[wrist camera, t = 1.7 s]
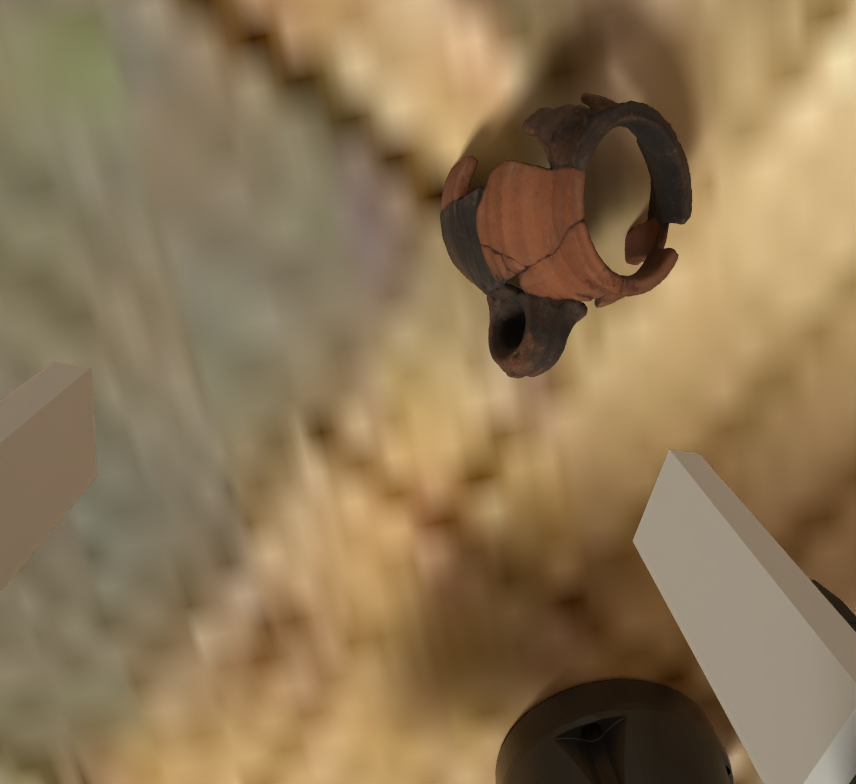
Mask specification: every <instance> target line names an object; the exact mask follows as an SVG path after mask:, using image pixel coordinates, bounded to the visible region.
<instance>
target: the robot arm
mask: <svg viewBox="0 0 856 784" xmlns="http://www.w3.org/2000/svg"><path fill="white" fill-rule="evenodd" d="M96 477H97V461H96V443H95V426H94V408H93V391H92V373H91V367H86V366H79V365H72V364H65V363H58V362H52V363H51V364H50V365H48V366H47V367H45V368H44V369H43V370H41V371H40V372H39V373H37V374H36V375H34V376H33V377H32V378H30V379H29V380H27V381H26V382H25V383H23V384H22V385H21V386H19V387H18V388H16V389H15V390H14V391H12V392H11V393H10V394H8V395H7V396H5V397H4V398H3V399H1V400H0V593H1V591H2V590H3V589H4V588H5V587H6V585H7V584H8V583H9V582H10V581H11V579H12V578H13V577H14V576H15V574H16V573H17V572H18V571H19V570H20V568H21V567H22V566H23V565H24V564H25V562H26V561H27V560H28V559H29V558H30V556H31V555H32V554H33V553H34V552H35V550H36V549H37V548H38V547H39V545H40V544H41V543H42V542H43V541H44V539H45V538H46V537H47V536H48V535H49V533H50V532H51V531H52V530H53V529H54V527H55V526H56V525H57V524H58V523H59V521H60V520H61V519H62V518H63V517H64V515H65V514H66V513H67V512H68V510H69V509H70V508H71V507H72V506H73V504H74V503H75V502H76V501H77V500H78V498H79V497H80V496H81V495H82V494H83V492H84V491H85V490H86V489H87V488H88V486H89V485H90V484H91V483H92V482H93V480H94V479H95V478H96ZM633 543H634V545H635V547H636V548H637V550H638V552H639V554H640V556H641V558H642V560H643V561H644V563H645V565H646V567H647V569H648V571H649V572H650V574H651V576H652V578H653V580H654V582H655V584H656V585H657V587H658V589H659V591H660V593H661V595H662V597H663V598H664V600H665V602H666V604H667V606H668V608H669V609H670V611H671V613H672V615H673V617H674V619H675V621H676V622H677V624H678V626H679V628H680V630H681V632H682V634H683V635H684V637H685V639H686V641H687V643H688V645H689V646H690V648H691V650H692V652H693V654H694V656H695V658H696V659H697V661H698V663H699V665H700V667H701V669H702V671H703V672H704V674H705V676H706V678H707V680H708V682H709V683H710V685H711V687H712V689H713V691H714V693H715V695H716V696H717V698H718V700H719V702H720V704H721V706H722V708H723V709H724V711H725V713H726V715H727V717H728V719H729V721H730V722H731V724H732V726H733V728H734V730H735V732H736V733H737V735H738V737H739V739H740V741H741V743H742V745H743V746H744V748H745V750H746V752H747V754H748V756H749V758H750V759H751V761H752V763H753V765H754V767H755V769H756V770H757V772H758V774H759V776H760V778H761V780H762V782H763V783H764V784H856V616H855V615H854V614H853V613H852V612H851V610H850V609H849V608H848V607H847V606H846V605H845V604H844V603H843V602H842V601H841V600H840V599H839V598H837V597H836V596H835V595H833V594H832V593H831V592H830V591H828V590H827V589H826V588H824V587H823V586H822V585H820V584H819V583H818V582H816V581H815V580H810V579H809V578H808V577H807V576H806V575H805V574H804V572H803V571H802V570H801V569H800V568H799V567H798V566H797V564H796V563H795V562H794V561H793V560H792V559H791V558H790V556H789V555H788V554H787V553H786V552H785V551H784V550H783V548H782V547H781V546H780V545H779V544H778V543H777V542H776V540H775V539H774V538H773V537H772V536H771V535H770V534H769V532H768V531H767V530H766V529H765V528H764V527H763V526H762V524H761V523H760V522H759V521H758V520H757V519H756V518H755V516H754V515H753V514H752V513H751V512H750V511H749V510H748V508H747V507H746V506H745V505H744V504H743V503H742V502H741V500H740V499H739V498H738V497H737V496H736V495H735V493H734V492H733V491H732V490H731V489H730V488H729V487H728V485H727V484H726V483H725V482H724V481H723V480H722V479H721V477H720V476H719V475H718V474H717V473H716V472H715V471H714V469H713V468H712V467H711V466H710V465H709V464H708V463H707V461H706V460H705V459H704V458H703V457H702V456H701V455H700V453H693V452H686V451H679V450H672V449H669V451H668V454H667V456H666V459H665V461H664V464H663V466H662V469H661V471H660V474H659V476H658V479H657V481H656V484H655V486H654V489H653V491H652V494H651V496H650V499H649V501H648V504H647V506H646V509H645V511H644V514H643V516H642V519H641V521H640V524H639V526H638V529H637V531H636V534H635V536H634V539H633ZM496 784H733V775H732V770H731V765H730V761H729V758H728V756H727V753H726V751H725V748H724V747H723V745H722V743H721V741H720V739H719V737H718V736H717V734H716V732H715V730H714V729H713V727H712V725H711V723H710V722H709V720H708V718H707V717H706V715H705V714H704V713H703V711H702V710H701V709H700V708H699V707H698V706H697V705H696V704H695V703H693V702H692V701H691V700H690V699H688V698H687V697H685V696H684V695H682V694H680V693H679V692H676V691H674V690H672V689H670V688H667V687H665V686H661V685H658V684H654V683H650V682H644V681H636V680H610V681H601V682H595V683H590V684H586V685H582V686H579V687H575V688H572V689H570V690H567V691H564V692H562V693H560V694H558V695H556V696H554V697H552V698H550V699H548V700H546V701H545V702H543V703H541V704H540V705H538V706H537V707H535V708H534V709H533V710H532V711H530V712H529V713H528V714H527V715H526V716H524V717H523V718H522V719H521V720H520V721H519V722H518V723H517V724H516V726H515V727H514V728H513V729H512V731H511V732H510V733H509V735H508V736H507V738H506V740H505V741H504V743H503V745H502V748H501V750H500V753H499V756H498V759H497V764H496Z"/></svg>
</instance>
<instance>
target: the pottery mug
mask: <svg viewBox="0 0 856 784" xmlns="http://www.w3.org/2000/svg"><path fill="white" fill-rule="evenodd" d="M581 101H582V103H584V104H586V105H588V106H589V107H590V109H589V108H587V107H584V106H581V105H564V106H561V107H558V108H555V109H551V108H541V109H539V110H537V111H536V112H535V113H534V114H532V115H531V116H530V117H529V118H528V119H527V120H526V121H525V122H524V123H523V125H522V130H523V131H524V132H525V133H526V134H529V135H532V136H537V138H538V141H539V143H540V144H541V145H542V147H543V148H544V150H545V152H546V154H547V157H548V161H549V163H550V166H551V169H547V168H544V167H541V166H537V165H529V164H526V163H521V162H517V161H513V160H506V161H505V162H504V163H502V164H500V165H498V166H497V167H496V168H495V169H493V170H492V171H491V173H490V175H489V179H488V181H487V185H486V187H485V188H484V187H479V188H477V189H475V190H473V191H472V192H470V194H468V192H469V187H470V184H471V180H472V177H473V175H474V171H475V169H476V167H477V164H478V160H477V159H476V158H475V157H473V156H468V157H466V158H464V159H463V160H462V161H461V162H460V163H459V164H458V165H457V166H455V167H453V168H452V169H451V171H450V173H449V175H448V177H447V180H446V182H445V186H444V190H443V194H442V201H441V214H440V220H441V228H442V236H443V240H444V243H445V246H446V248H447V251H448V254H449V256H450V258H451V260H452V262H453V263H454V265H455V266H456V267H457V268H458V269H459V270H460V272H461V273H462V274H463V275H464V276H465V277H466V278H467V279H468V280H470V281H471V282H472V283H474V284H475V285H476V286H477V287H478V288H479V289H480V290H482V291H483V292H484V293H485V294H486V295H487V301H488V305H489V310H490V325H489V337H488V338H489V349H490V353H491V356H492V358H493V359H494V361H495V362H496V363H497V364H498V365H499V366H500V368H501V369H502V370H503V371H504V372H506V374H507V375H508V376H509V377H513V378H522V377H524V376H529V377H535V376H538V375H540V374H542V373H544V372H546V371H547V370H549V369H550V368H551V367H552V366H554V365H555V363H556V362H557V361H558V360H559V358H560V356H561V354H562V353H563V351H564V348H565V345H566V342H567V338H568V336H569V334H570V332H571V330H572V328H573V326H574V325H575V324H576V323H577V322H578V321H579V320H581V319H582V318H583V317H584V316H585V315H586V314H587V307H586V305H585V304H584V303H582V302H581V301H591V300H592V299H595V306H596V307H597V308H598V307H603V306H606V305H609V304H612V303H614V302H616V301H617V300H619V299H622V298H624V297H625V296H633V295H639V294H643V293H645V292H647V291H650V290H652V289H653V288H654V287H656V286H657V285H658V284H660V283H661V282H662V281H663V280H664V279H665V278H666V277H667V276H668V274H669V273H670V271H671V270H672V268H673V267H674V265H675V263H676V261H677V259H678V254H677V253H676V251H675V250H674V249H672V248H665V249H663V248H664V246H665V243H666V239H667V233H668V227H669V223H677V224H685V223H686V222H687V220H688V219H689V218H690V216H691V212H692V189H691V178H690V172H689V167H688V163H687V159H686V156H685V153H684V151H683V149H682V146H681V144H680V143H679V142H678V141H677V136H676V134H675V132H674V131H673V129H672V127H671V124H669V123H668V122H667V121H666V120H665V119H664V118H663V117H662V116H661V114H660V113H659V112H658V111H656V110H655V109H653V108H652V107H649V106H648V105H646V104H644V103H638V102H634V101H628V102H626V103H620V104H618V103H615V102H614V101H612V100H610V99H607V98H605V97H602V96H598V95H593V94H589V93H584V94H582V96H581ZM617 126H623V127H626V128H628V129H629V130H630V131H631V132H632V133H633V134H634V135H635V136H636V137H637V143H638V145H639V148H640V150H641V152H642V154H643V156H644V159H645V161H646V163H647V166H648V170H649V173H650V178H651V195H650V202H649V211H648V219H647V221H646V222H644V223H642V224H640V225H639V226H637V227H636V228H634V229H633V230H631V231H630V232H629V233H628V234H627V237H626V240H625V260H626V262H627V263H628V264H632V265H638V264H639V263H641V262H643V261H644V263H643V265H642V266H641V267H640V269H639V270H638V271H637V272H636V273H634V274H633V275H630V276H622V275H618V274H617V273H615V272H613V271H612V270H611V269H610V268H609V267H608V266H607V265H606V264H605V263H604V262H603V260H602V259H601V257H600V256H599V255H598V253H597V251H596V249H595V247H594V245H593V243H592V241H591V238H590V235H589V231H588V228H587V224H586V222H585V209H584V190H585V180H586V169H587V167H588V164H589V162H590V160H591V157H592V155H593V153H594V150H595V148H596V146H597V145H598V143H599V142H600V140H601V139H602V138H603V137H604V136H605V135H606V134H607V133H608V132H609V131H610V130H611V129H613V128H615V127H617ZM516 276H517V277H518V278H519V283H520V287H521V288H522V289H520V288H518V287H515V286H513V285H511V284H508V283H507V281H508V280H510V279H513V278H514V277H516Z"/></svg>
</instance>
